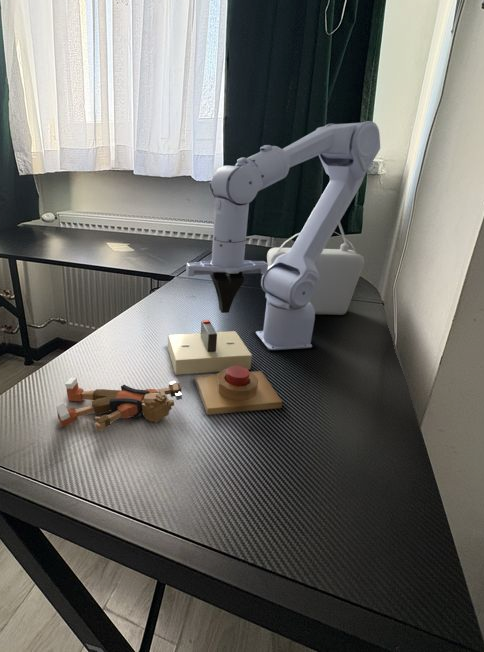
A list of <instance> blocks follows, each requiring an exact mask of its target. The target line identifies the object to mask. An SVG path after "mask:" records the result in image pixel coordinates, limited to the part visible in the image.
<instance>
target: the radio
mask: <svg viewBox="0 0 484 652" xmlns="http://www.w3.org/2000/svg"><path fill="white" fill-rule="evenodd" d="M337 226H338V228H339V231H340V233H341V234H340V233H338V232H336V231H334V233H335V234H337V235H339V236H340V237H342V239H343V243H342V244H340V246H339V248H324V249H323V251H322V253H321V254H320V256H319V258H318V259H317V261H316V263H315V266H316V269H317V271H318V273H319V276H320V279H319V281H318V282H317V284H316V287H315V292H314V295H313V297H312V299H311V300H310V303H311V304H312V306H313V308H314V312H315V315H321V316H322V315H323V316H324V315H325V316H326V315H327V316H344V315H345V314H346V313H347V312H348V309H349V306H350V304H351V301H352V298H353V295H354V294H355V290H356V287H357V284H358V281H359V280H360V276H361V274H362V271H363V268H364V265H365V258H364V256H363V255H361V254H360V253H358V251H357V250H356V248H355V246H354V244H353V243H352V242H351V241H350V240H349V239H347V238H346V235H345V232H344V228H343V227H342V223H341V221H340V222H339V223H338V225H337ZM300 233H301V232H298V233H295V234H294V235H293V236H291V237H289V238H288V239H287V240H285V241H283V243H282V244H281V245H280V246H279V247H272V248H270V249H269V250H268V251H267V254H266V263H267V264H268V268H269V267H270V266H271V265H272V264H273V263H274V261H275V260H276V258H277V257H279V256H281V255H283V254H286V253H288V252H289V251H290V250H291V248H292V247H285V245H286V244H287V243H288V242H290V241H291V240H293V239H294V238H295V237H298V236H299V234H300ZM348 243H349V244H350V245H349V244H348ZM350 246H351V248H352V249H349V247H350ZM268 268H267V269H268ZM293 272H295V273H298V272H296V271H293ZM298 274H300V273H298Z"/></svg>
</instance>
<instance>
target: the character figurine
mask: <svg viewBox="0 0 484 652" xmlns="http://www.w3.org/2000/svg"><path fill="white" fill-rule="evenodd" d="M64 385H65V388H66V397H67V399H68V401H69V402H82V401H83V400H89V401H91V405H88V406H84V407H81V408H78V409H76V408H74V407H73V408H67V406H66V404H65V403H61V404H60V405H57V406H56V414H57V419H58V422H59V424H60V426H61V428H63V427H66V426H69V425H71V424H73V423H75V422H76V421H77V420H78V418H79V417H82V416H86V415H89V414H94V415H95V416H94V421H96V422H94V427H95V430H97V431H99V432H101V431H103V430H104V429H106V428H108V427H110V426H111V423H113V422H114V421H115V422H116V421H117V420H118V419H129V418H131V417H133V418H134V419H135V418H139V417H140V416H141V414H142V416H143V417H144V418H145V419H146V420H148V421H149V422H155V423H159V422H160V421H161V420H163V419H164V418H166V417H167V416H168V415H169V414H170V411H171V410H172V409H173V408H172V407H174V406H175V400H174V399H169V397H168V396H167V395H170V397H171V398H173V397H175V399H176V401H178V400H182V399H183V393H182V392H183V391H182V387H181V384H180V382H176V381H175V380H173V381H170V382H169V384H168V387H163V388H157V389H155V388H146V389H137V388H133V387H130V386H128V385H126V384H122V385H121V386H120V389H121V390H120V389H107V388H106V389H104V388H97V389H94V390H93V389H92V390H84V389H83V388H81V387H79V383H78V379H77V376H76V377H75V376H71V377H69V379H68V380H66V382H65V384H64ZM108 412H111V413H110V414H108V415H107V414H106V413H108ZM102 414H103V415H102ZM97 415H101V416H97Z"/></svg>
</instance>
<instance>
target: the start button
mask: <svg viewBox="0 0 484 652" xmlns="http://www.w3.org/2000/svg"><path fill="white" fill-rule="evenodd" d="M249 372H250V371H249V369H246V368H244V367H241V366H231V367H229V368H228V369H227V376H226V381H227V383H229V384H231V385H234V386H246V385H247V384H248V382H249Z"/></svg>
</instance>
